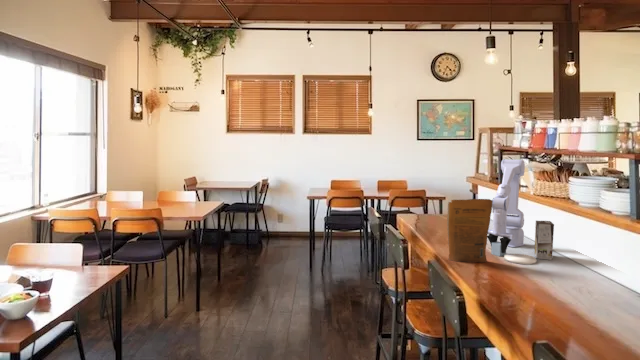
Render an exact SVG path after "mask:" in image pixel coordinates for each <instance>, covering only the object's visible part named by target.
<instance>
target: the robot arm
mask: <svg viewBox="0 0 640 360" xmlns="http://www.w3.org/2000/svg"><path fill="white" fill-rule="evenodd" d="M525 165H526V163H525V160H524V159H522V158H521V159H512V158H511V159H510V158H508V159H505V158H503V159H502V160H501V162H500V170H501V173H503V175H502V181H501V183H500V184H499V185H498V187H497V189H496V190H497V191H496V194H495V197H493V198H492V199H491V200H492V201H493V202H492V212H491V213H493V215H492V217H493V218H492V229H488V233H487V240H488V241H489V243H490V247H491V248H492V242H497V241H498V239H499V242H501V253H505V252H506V253H507V249H508V247H510V248H518V247H522V246H526V244H525V243H524V241H525V240H524V239H525V237H524V236H525V232H524V230H523V227H524V224H525V215H524V213H523V211H521V210H520V209H519V198H520V197H519V195H520V181H521V180H520V179H521V177H523V176H524V175H525V171H526V170H525V168H526V167H525ZM499 237H500V238H499Z"/></svg>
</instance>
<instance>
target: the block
mask: <svg viewBox="0 0 640 360" xmlns="http://www.w3.org/2000/svg"><path fill="white" fill-rule="evenodd" d="M490 254H491V255H494V256H497V257H504V255H506V254H507V251H506V252H505V253H501V241H498V240H497V242H492V248H491V253H490Z"/></svg>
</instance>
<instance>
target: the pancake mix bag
mask: <svg viewBox="0 0 640 360" xmlns="http://www.w3.org/2000/svg"><path fill="white" fill-rule="evenodd" d="M492 200H493V199H490V198H469V199H451V200H450V201H448V203H447V214H446V215H447V217H446V218H447V219H446V224H447V228H446V229H447V238H448V240H447V241H448V244H447V245H448V252H449V254H448V260H449V261H453V262H456V263H457V262H459V263H462V262H463V263H485V262H487V261H488V260H487V255H486V253H487V252H486V250H487V244H488V238H487V236H488V234H487V233H488V229H489V228H490V225H491V216H492V215H491V214H492V213H493V212H492V202H493V201H492ZM489 230H490V229H489Z"/></svg>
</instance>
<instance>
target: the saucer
mask: <svg viewBox="0 0 640 360" xmlns="http://www.w3.org/2000/svg"><path fill="white" fill-rule="evenodd" d="M503 259H504V261H506V262H507V263H511V264H512V263H513V264H518V265H535V264H537V258H536V256H535V257H534V256H532V255H529V254H524V253H523V254H522V253H506V255H503Z"/></svg>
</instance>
